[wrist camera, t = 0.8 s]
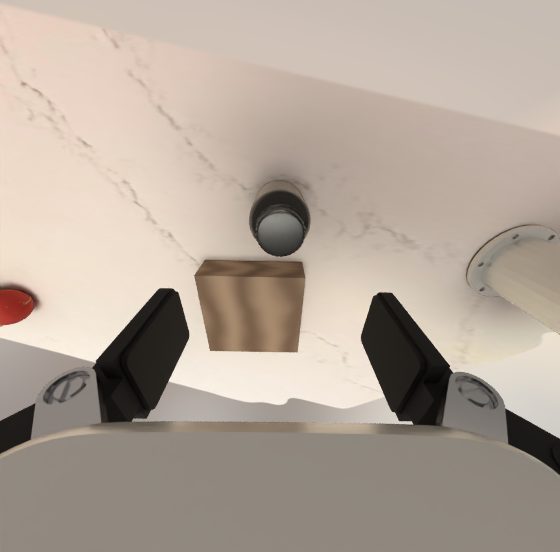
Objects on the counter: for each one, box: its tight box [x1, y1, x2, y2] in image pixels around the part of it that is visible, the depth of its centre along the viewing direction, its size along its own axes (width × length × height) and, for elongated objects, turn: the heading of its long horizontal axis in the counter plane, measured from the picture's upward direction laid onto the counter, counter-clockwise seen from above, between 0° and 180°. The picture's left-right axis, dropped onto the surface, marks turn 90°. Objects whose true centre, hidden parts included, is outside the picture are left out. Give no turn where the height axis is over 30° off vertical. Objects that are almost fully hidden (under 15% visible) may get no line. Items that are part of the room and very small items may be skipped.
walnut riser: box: [194, 260, 305, 352], centre depth 37 cm, size 16×16×5 cm
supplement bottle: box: [249, 180, 311, 257], centre depth 25 cm, size 7×7×12 cm
